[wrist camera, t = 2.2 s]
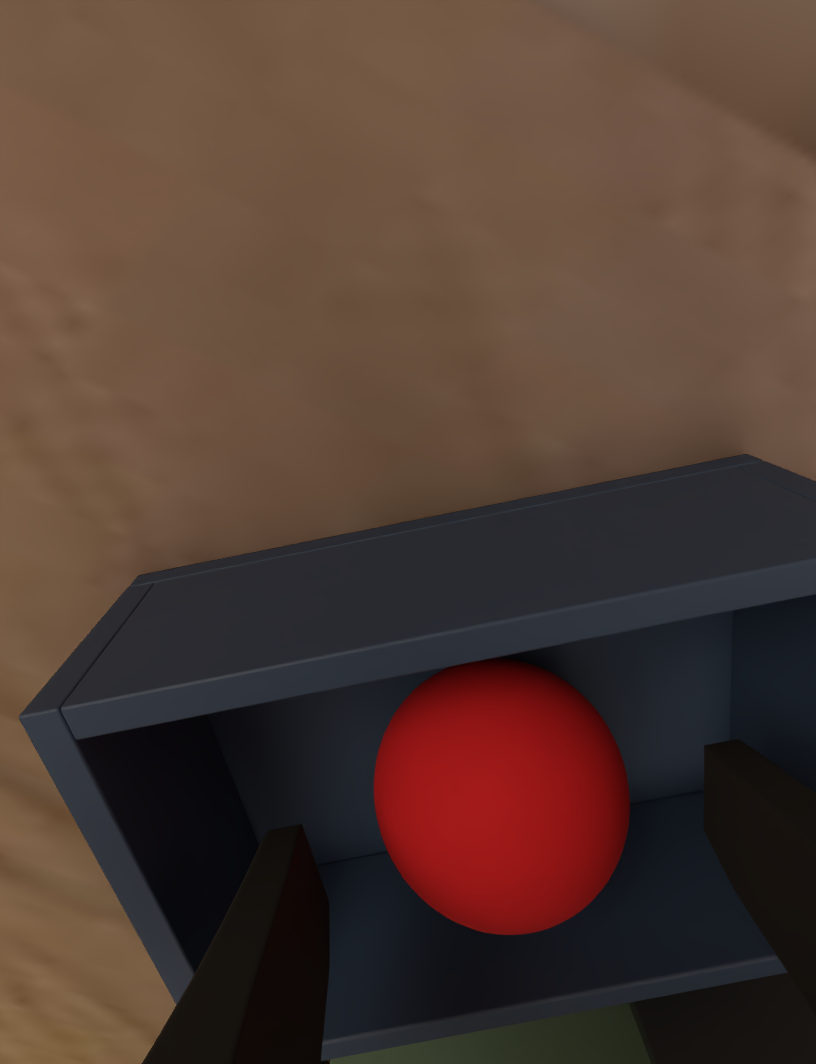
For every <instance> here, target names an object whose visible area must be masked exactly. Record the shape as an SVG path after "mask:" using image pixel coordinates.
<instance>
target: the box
mask: <svg viewBox="0 0 816 1064" xmlns="http://www.w3.org/2000/svg"><path fill="white" fill-rule="evenodd" d="M491 658H502V659H513V660H518V661H523V662H526V663H529V664H532V665H535V666H538V667H540V668H543V669H545V670H547V671H549V672H551V673H553V674H555V675H557V676H558V677H560V678H561V679H563V680H564V681H566V682H567V683H569V684H570V685H572V686H573V687H574V688H576V689H577V690H578V691H579V692H580V693H581V694H582V695H583V696H584V697H585V698H586V699H587V700H588V701H589V702H590V703H591V704H592V705H593V706H594V708H595V709H596V710H597V711H598V713H599V714H600V715H601V717H602V718H603V720H604V721H605V723H606V724H607V726H608V727H609V729H610V731H611V733H612V735H613V737H614V739H615V741H616V743H617V745H618V747H619V750H620V753H621V756H622V759H623V762H624V766H625V769H626V773H627V779H628V786H629V796H630V814H629V827H628V832H627V837H626V840H625V844H624V848H623V851H622V854H621V857H620V859H619V862H618V864H617V866H616V868H615V870H614V872H613V873H612V875H611V877H610V879H609V881H608V882H607V883H606V885H605V886H604V888H603V889H602V890H601V891H600V892H599V894H598V895H597V896H596V897H595V898H594V899H593V900H592V901H591V902H590V903H589V904H588V905H587V906H586V907H585V908H584V909H583V910H581V911H580V912H579V913H577V914H576V915H574V916H573V917H571V918H569V919H567V920H566V921H564V922H562V923H560V924H558V925H556V926H553V927H551V928H548V929H545V930H542V931H538V932H534V933H528V934H519V935H498V934H490V933H485V932H481V931H477V930H474V929H471V928H468V927H466V926H463V925H461V924H458V923H456V922H454V921H452V920H450V919H448V918H447V917H445V916H444V915H442V914H441V913H439V912H438V911H436V910H435V909H433V908H432V907H430V906H429V905H428V904H427V903H426V902H425V901H424V900H422V899H421V898H420V897H419V896H418V895H417V894H416V893H415V892H414V890H413V889H412V888H411V887H410V886H409V885H408V884H407V882H406V881H405V880H404V878H403V877H402V875H401V874H400V872H399V871H398V869H397V868H396V866H395V864H394V863H393V861H392V859H391V857H390V855H389V853H388V851H387V848H386V846H385V844H384V841H383V838H382V836H381V832H380V829H379V825H378V821H377V816H376V811H375V802H374V773H375V766H376V759H377V755H378V751H379V747H380V744H381V741H382V738H383V735H384V733H385V731H386V729H387V727H388V725H389V723H390V721H391V719H392V717H393V715H394V714H395V712H396V711H397V709H398V708H399V706H400V705H401V704H402V703H403V701H404V700H405V699H406V698H407V697H408V696H409V695H410V693H411V692H412V691H413V690H414V689H415V688H417V687H418V686H419V685H420V684H421V683H422V682H424V681H425V680H427V679H428V678H430V677H431V676H433V675H434V674H436V673H438V672H440V671H442V670H444V669H446V668H448V667H450V666H455V665H460V664H466V663H471V662H476V661H481V660H486V659H491ZM19 719H20V721H21V723H22V725H23V727H24V728H25V730H26V732H27V734H28V736H29V738H30V739H31V741H32V743H33V745H34V747H35V748H36V750H37V752H38V754H39V756H40V758H41V759H42V761H43V763H44V765H45V767H46V768H47V770H48V772H49V774H50V776H51V778H52V779H53V781H54V783H55V785H56V787H57V788H58V790H59V792H60V794H61V796H62V798H63V799H64V801H65V803H66V805H67V807H68V808H69V810H70V812H71V814H72V816H73V818H74V819H75V821H76V823H77V825H78V827H79V828H80V830H81V832H82V834H83V836H84V838H85V839H86V841H87V843H88V845H89V847H90V848H91V850H92V852H93V854H94V856H95V858H96V859H97V861H98V863H99V865H100V867H101V868H102V870H103V872H104V874H105V876H106V878H107V879H108V881H109V883H110V885H111V887H112V888H113V890H114V892H115V894H116V896H117V898H118V899H119V901H120V903H121V905H122V907H123V908H124V910H125V912H126V914H127V916H128V918H129V919H130V921H131V923H132V925H133V927H134V928H135V930H136V932H137V934H138V936H139V938H140V939H141V941H142V943H143V945H144V947H145V948H146V950H147V952H148V954H149V956H150V958H151V959H152V961H153V963H154V965H155V967H156V968H157V970H158V972H159V974H160V976H161V978H162V979H163V981H164V983H165V985H166V987H167V988H168V990H169V992H170V994H171V996H172V998H173V999H174V1001H175V1003H176V1005H177V1004H178V1002H179V1000H180V998H181V997H182V995H183V993H184V991H185V990H186V988H187V986H188V985H189V983H190V981H191V979H192V978H193V976H194V974H195V972H196V970H197V969H198V967H199V965H200V963H201V961H202V959H203V957H204V955H205V954H206V952H207V950H208V948H209V946H210V944H211V942H212V940H213V938H214V936H215V935H216V933H217V931H218V929H219V927H220V925H221V923H222V921H223V919H224V917H225V915H226V914H227V912H228V909H229V907H230V905H231V903H232V901H233V899H234V897H235V895H236V893H237V891H238V889H239V887H240V885H241V883H242V881H243V879H244V877H245V875H246V873H247V871H248V869H249V867H250V864H251V862H252V860H253V858H254V856H255V854H256V852H257V850H258V847H259V845H260V843H261V841H262V839H263V837H264V835H265V834H266V833H267V831H268V830H272V829H278V828H283V827H288V826H293V825H298V824H302V826H303V829H304V831H305V834H306V837H307V840H308V843H309V846H310V848H311V851H312V854H313V857H314V860H315V863H316V866H317V868H318V871H319V874H320V877H321V880H322V883H323V885H324V888H325V891H326V894H327V897H328V900H329V921H330V962H329V980H328V991H327V1002H326V1013H325V1024H324V1034H323V1044H322V1055H321V1061H325V1060H330V1059H336V1058H341V1057H346V1056H351V1055H357V1054H362V1053H367V1052H372V1051H378V1050H383V1049H388V1048H393V1047H399V1046H404V1045H409V1044H414V1043H420V1042H425V1041H430V1040H435V1039H441V1038H446V1037H451V1036H456V1035H462V1034H467V1033H472V1032H477V1031H483V1030H488V1029H493V1028H498V1027H504V1026H509V1025H514V1024H519V1023H525V1022H530V1021H535V1020H540V1019H546V1018H551V1017H556V1016H561V1015H567V1014H572V1013H577V1012H582V1011H588V1010H593V1009H598V1008H603V1007H609V1006H614V1005H619V1004H624V1003H630V1002H635V1001H640V1000H645V999H651V998H656V997H661V996H667V995H672V994H677V993H682V992H688V991H693V990H698V989H703V988H709V987H714V986H719V985H724V984H730V983H735V982H740V981H745V980H751V979H756V978H761V977H766V976H772V975H777V974H782V973H787V970H786V969H785V967H784V966H783V964H782V963H781V961H780V960H779V958H778V957H777V955H776V954H775V952H774V951H773V949H772V948H771V946H770V944H769V943H768V941H767V940H766V938H765V937H764V935H763V934H762V932H761V931H760V929H759V927H758V926H757V924H756V923H755V921H754V920H753V918H752V917H751V915H750V914H749V912H748V910H747V909H746V907H745V906H744V904H743V903H742V901H741V900H740V898H739V896H738V895H737V893H736V892H735V890H734V888H733V886H732V884H731V882H730V880H729V878H728V877H727V875H726V873H725V871H724V869H723V867H722V865H721V863H720V861H719V859H718V857H717V855H716V853H715V851H714V849H713V847H712V845H711V843H710V841H709V839H708V837H707V835H706V833H705V832H704V745H709V744H714V743H720V742H725V741H730V740H735V739H740V740H741V741H743V742H744V743H745V744H747V745H748V746H750V747H751V748H753V749H754V750H756V751H757V752H758V753H760V754H761V755H763V756H764V757H766V758H767V759H768V760H770V761H771V762H773V763H774V764H775V765H777V766H778V767H780V768H781V769H783V770H784V771H785V772H787V773H788V774H790V775H791V776H793V777H794V778H795V779H797V780H798V781H800V782H801V783H803V784H804V785H805V786H807V787H808V788H810V789H811V790H813V791H814V792H815V793H816V481H813V480H811V479H808V478H806V477H803V476H801V475H798V474H796V473H793V472H791V471H788V470H786V469H783V468H781V467H778V466H776V465H773V464H771V463H768V462H765V461H762V460H761V459H758V458H756V457H753V456H751V455H748V454H744V455H739V456H734V457H729V458H724V459H719V460H714V461H709V462H704V463H699V464H694V465H689V466H684V467H679V468H674V469H669V470H664V471H659V472H654V473H649V474H644V475H639V476H634V477H629V478H624V479H619V480H614V481H609V482H604V483H599V484H594V485H589V486H584V487H579V488H574V489H569V490H564V491H559V492H554V493H549V494H544V495H539V496H534V497H529V498H524V499H519V500H514V501H509V502H504V503H499V504H494V505H489V506H484V507H479V508H474V509H469V510H463V511H458V512H453V513H448V514H443V515H438V516H433V517H428V518H423V519H418V520H413V521H408V522H403V523H398V524H393V525H388V526H383V527H378V528H373V529H368V530H363V531H358V532H353V533H348V534H343V535H338V536H333V537H328V538H323V539H318V540H313V541H308V542H303V543H298V544H293V545H288V546H283V547H278V548H273V549H268V550H263V551H258V552H253V553H248V554H243V555H238V556H233V557H228V558H223V559H218V560H213V561H208V562H203V563H198V564H193V565H188V566H183V567H178V568H173V569H168V570H163V571H158V572H153V573H148V574H143V575H139V576H138V577H137V578H136V579H135V580H134V581H133V583H132V584H131V585H130V586H129V588H127V589H126V590H125V591H124V592H123V594H122V595H121V596H120V597H119V598H118V600H117V601H116V602H115V603H114V604H113V605H112V607H111V608H110V609H109V610H108V611H107V613H106V614H105V615H104V616H103V617H102V618H101V620H100V621H99V622H98V623H97V624H96V626H95V627H94V628H93V629H92V630H91V631H90V633H89V634H88V635H87V636H86V637H85V639H84V640H83V641H82V642H81V643H80V644H79V646H78V647H77V648H76V649H75V650H74V652H73V653H72V654H71V655H70V656H69V658H68V659H67V660H66V661H65V662H64V663H63V665H62V666H61V667H60V668H59V669H58V671H57V672H56V673H55V674H54V675H53V676H52V678H51V679H50V680H49V681H48V682H47V684H46V685H45V686H44V687H43V688H42V689H41V691H40V692H39V693H38V694H37V695H36V697H35V698H34V699H33V700H32V701H31V702H30V704H29V705H28V706H27V707H26V708H25V710H24V711H23V712H22V713H21V714H20V716H19Z"/></svg>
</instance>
